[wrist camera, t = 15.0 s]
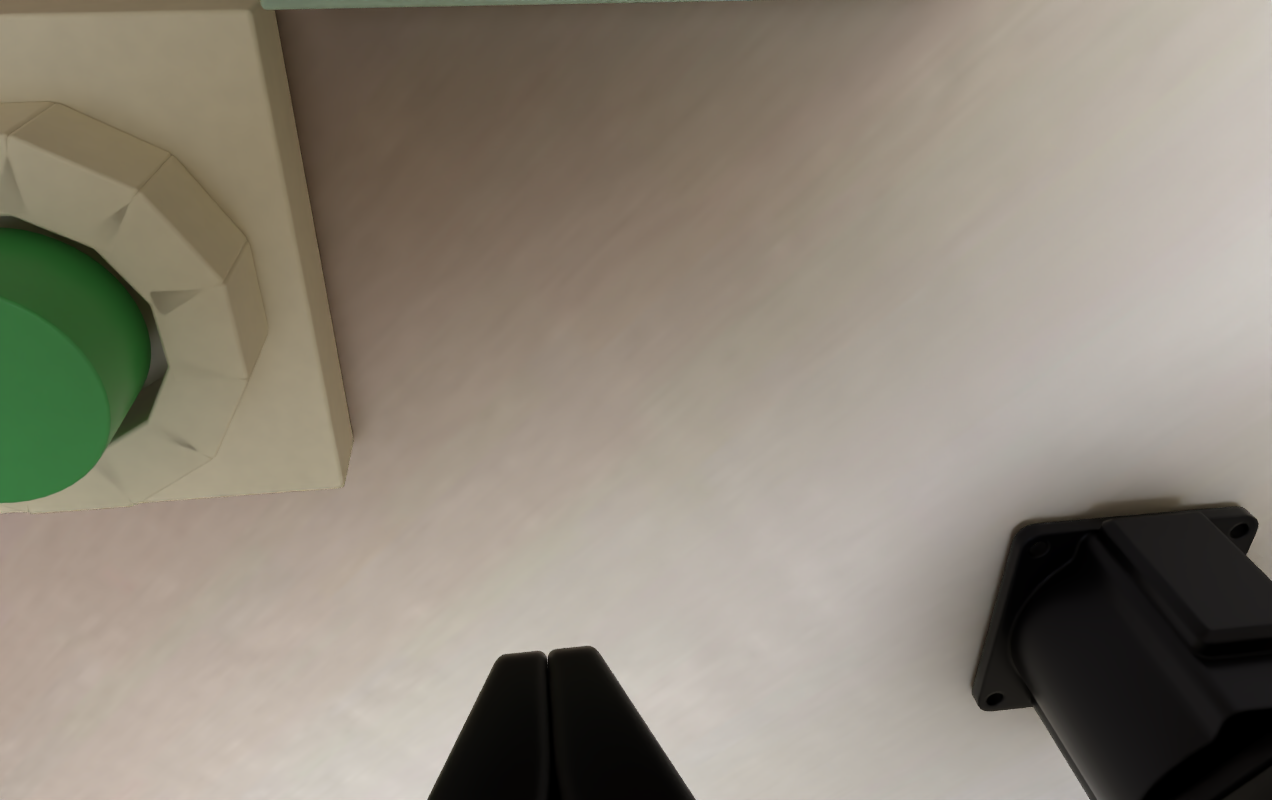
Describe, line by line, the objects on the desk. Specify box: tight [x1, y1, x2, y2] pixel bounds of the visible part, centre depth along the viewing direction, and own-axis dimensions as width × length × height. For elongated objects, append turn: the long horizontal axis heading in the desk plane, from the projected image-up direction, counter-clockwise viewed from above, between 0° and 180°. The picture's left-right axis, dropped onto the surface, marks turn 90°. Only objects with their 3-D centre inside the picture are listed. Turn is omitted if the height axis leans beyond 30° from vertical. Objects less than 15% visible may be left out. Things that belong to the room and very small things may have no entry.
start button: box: [0, 227, 151, 503], centre depth 14 cm, size 4×4×2 cm
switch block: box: [0, 0, 354, 514], centre depth 16 cm, size 9×8×4 cm
